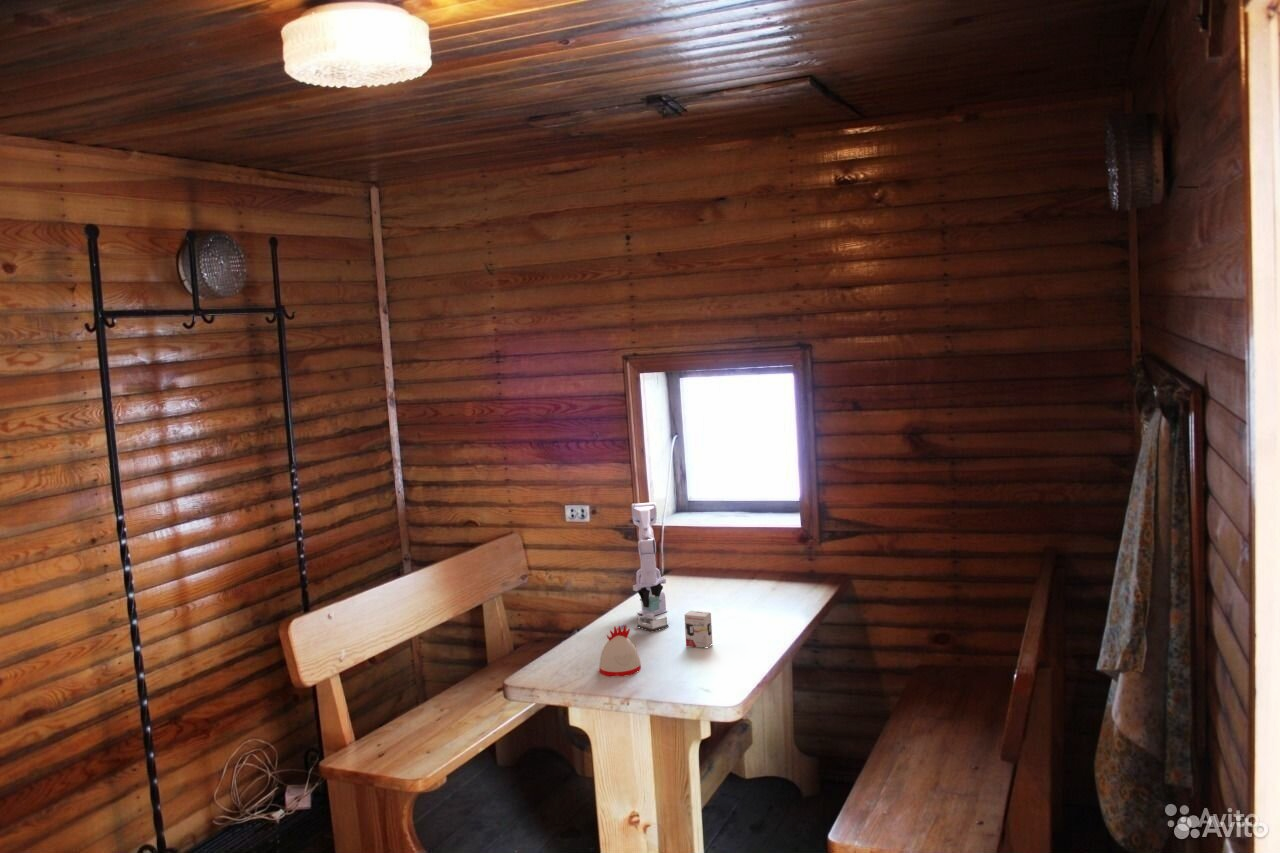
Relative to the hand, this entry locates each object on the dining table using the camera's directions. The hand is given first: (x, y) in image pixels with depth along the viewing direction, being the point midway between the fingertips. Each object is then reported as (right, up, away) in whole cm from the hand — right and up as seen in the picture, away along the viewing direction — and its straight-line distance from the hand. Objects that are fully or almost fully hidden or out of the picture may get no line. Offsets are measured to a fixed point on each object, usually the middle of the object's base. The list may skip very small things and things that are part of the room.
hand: (650, 605), depth 386 cm
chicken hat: (-11, -14, -44) cm, 48 cm away
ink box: (+17, -10, -25) cm, 31 cm away
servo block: (0, -1, 0) cm, 1 cm away
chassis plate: (+1, -8, +1) cm, 8 cm away
